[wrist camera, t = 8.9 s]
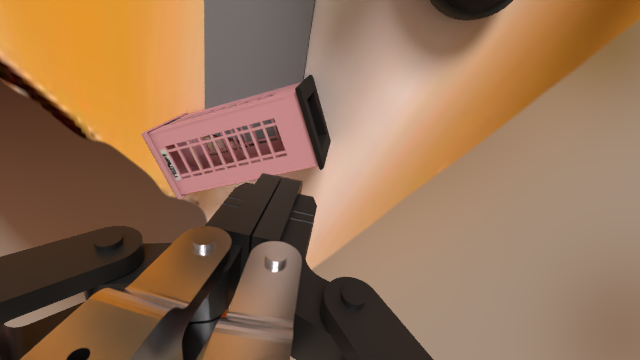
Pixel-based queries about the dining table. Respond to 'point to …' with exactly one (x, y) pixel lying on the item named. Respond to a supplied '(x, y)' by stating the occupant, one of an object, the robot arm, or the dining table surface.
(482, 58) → the dining table surface
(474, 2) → the boot
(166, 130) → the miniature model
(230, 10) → the mat
